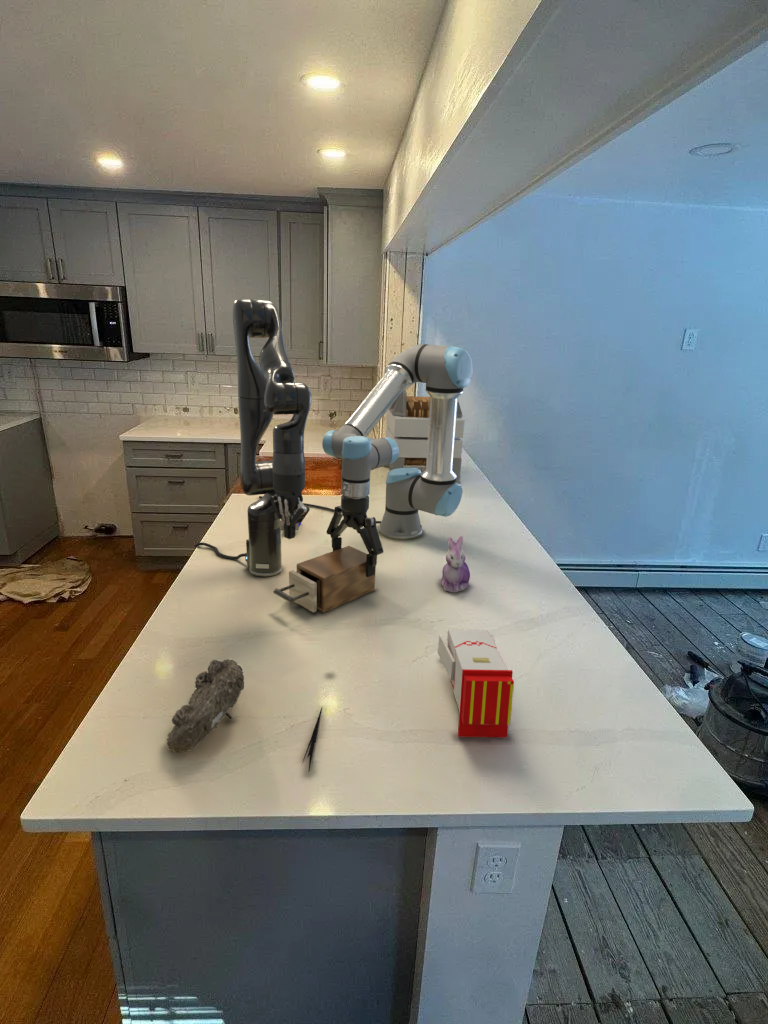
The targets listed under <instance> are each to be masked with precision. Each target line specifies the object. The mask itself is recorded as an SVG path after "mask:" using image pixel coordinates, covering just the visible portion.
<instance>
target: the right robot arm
mask: <svg viewBox="0 0 768 1024" xmlns="http://www.w3.org/2000/svg"><path fill="white" fill-rule="evenodd" d="M472 376H473V361H472V357H471V355H470V354H469V352H468V351H467V350H466V349H465V348H462V347H458V346H454V345H441V344H440V345H438V344H426V343H419V344H415V345H412V346H410V347H408V348H406V349H405V350H403V351H402V352H400V353H399V354H397V355H396V356H395V357H394V358H393V359H392V360H391V361H390V362H389V363H388V364H387V365H386V366H385V368H384V374H383V376H382V377H381V378H380V379H379V380H378V382H377V383H376V384H375V386H374V387H372V389H371V391H370V392H368V394H367V395H366V396H365V397H364V399H363V400H362V401H361V402H360V403H359V405H358V407H357V408H356V409H355V410H354V411H353V412H352V414H351V415H350V416H349V417H348V419H347V420H346V421H345V422H344V424H343V425H342V426H341V427H340V428H339V429H331V430H329V431H326V432H325V434H324V436H323V438H322V441H321V442H322V443H321V447H322V450H323V452H324V453H325V455H327V456H330V457H332V458H333V457H334V458H335V459H341V495H340V505H338V506H337V505H336V506H335V507H334V508H330V507H326V506H322V505H317V504H311V503H305V502H303V504H304V506H305V507H307V506H308V507H312V508H317V509H322V510H326V511H330V512H333V515H332V518H331V519H330V522H329V525H328V527H327V529H326V534H327V535H329V536H330V538H331V548H332V551H335V550H338V549H341V548H343V547H342V543H343V539H342V534H343V533H344V531H345V530H346V529H347V528H350V529H352V530H355V531H356V532H357V534H359V536H360V538H361V540H362V542H363V545H364V546H365V549H366V551H367V553H366V554H367V556H366V577H370V576H372V575H375V576H376V573H375V565H376V566H377V563H378V555H381V554H383V553H384V548H383V545H382V541H381V539H380V535H381V536H382V537H385V538H387V539H389V540H395V541H410V540H415V539H418V538H420V537H421V536H422V535H423V525H422V524H421V518H420V515H419V511H421V512H424V513H428V514H431V515H434V516H440V517H444V518H445V517H450V516H452V515H453V514H454V513H455V512H456V511H457V509H458V507H459V505H460V503H461V501H462V498H463V487H462V485H461V484H459V483H460V482H459V483H456V474H455V473H454V472H453V471H452V468H453V454H454V441H455V428H456V414H457V401H458V402H459V397H460V396H461V395H462V394H463V393H464V389H465V388H466V387H468V386H469V385H470V383H471V379H472V378H473V377H472ZM416 383H423V384H425V392H426V393H427V394H428V395H429V397H430V408H429V426H428V443H427V461H426V466H425V469H424V470H423V471H422V470H421V469H420V468H418V467H404V468H398V469H394V470H391V471H390V470H388V472H387V475H386V480H385V504H384V505H385V507H384V508H385V509H384V513H383V515H382V519H381V520H376V517H375V516H373V517H369V516H368V515H367V512H368V511H369V508H370V496H369V495H370V490H371V489H370V487H371V486H370V485H371V471H373V470H375V469H379V468H382V467H387V466H388V465H389V464H391V463H393V462H395V461H396V460H397V458H398V456H399V447H398V445H397V443H396V442H395V441H394V440H393V439H391V438H386V437H380V438H374V437H369V434H370V433H371V432H372V431H373V429H375V427H376V425H377V424H378V423H380V421H381V419H382V418H383V417H384V415H385V414H386V412H387V410H388V409H389V408H390V406H391V405H392V404H393V403H394V401H395V400H396V399H397V398H398V396H399V395H400V394H401V392H402V391H403V390H406V391H407V390H408V389H410V388H411V386H412V385H414V384H416ZM262 497H263V496H262V495H258V498H259V499H261V498H262ZM377 524H379V526H378V527H377ZM379 534H380V535H379Z"/></svg>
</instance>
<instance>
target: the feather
mask: <svg viewBox="0 0 768 1024" xmlns="http://www.w3.org/2000/svg"><path fill="white" fill-rule="evenodd" d="M329 675H330V676H331V675H332V674H331V673H330V674H329ZM322 710H323V707H321V708H320V710H319V713H318V716H317V719H316V723H315V725H314V728H313V731H312V733H311V737H310V739H309V742H308V745H307V748H306V751H305V754H304V757H303V760H302V763H301V767H302V765H303V763H304V761H305V758H308V759H309V760H308V762H307V763H308V764H307V766H308V771H310V770H311V766H312V765H311V764H312V760H313V757H315V756H314V755H315V751H316V749H315V746H317V739H318V733H319V729H320V722H321V717H322V712H323V711H322ZM313 754H314V755H313ZM306 755H307V757H306Z"/></svg>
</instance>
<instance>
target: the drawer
mask: <svg viewBox="0 0 768 1024" xmlns="http://www.w3.org/2000/svg"><path fill="white" fill-rule="evenodd" d="M288 581H289V582H288V585H286V586H284V587H282V588H279V589H278V588H274V590H273V593H274V595H277V596H278V597H279V598H282V599H283V600H284V601H286V602H288V603H290V604H294V603H296V604H298V605H299V606H301V607H303V608H305V609H306V610H308V611H310V612H311V613H316V612H317V610H318V609H317V606H321V590H322V580H320V579H318V578H316V577H314V576H313V575H311V574H309V573H307V572H305V571H303V570H299V573H297V571H295V570H294V569H293V570H289V571H288ZM287 590H289V591H288V593H289V594H287V593H286V592H284V591H287Z"/></svg>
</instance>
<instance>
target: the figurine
mask: <svg viewBox="0 0 768 1024" xmlns="http://www.w3.org/2000/svg"><path fill="white" fill-rule="evenodd" d="M463 543H464V536H463V535H460V536H459V537H458V539H457V541H456V542H455V541H454V539H453V538H452V537H451V536H448V537H447V547H448V548H447V549H448V551H447V553H446V555H445V561H446V563H445V564H444V565H443V567H442V572H441V573H442V576H441V577H442V578H441V581H440V583H441V587H443V590H444V591H446V592H450V593H458V592H460V591H461V592H462V591H465V590H466V589H467V588H468V586H469V583H470V579H471V572H470V568H469V566H468V564H467V563H466V555H465V552H464V551H463V545H464V544H463Z"/></svg>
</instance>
